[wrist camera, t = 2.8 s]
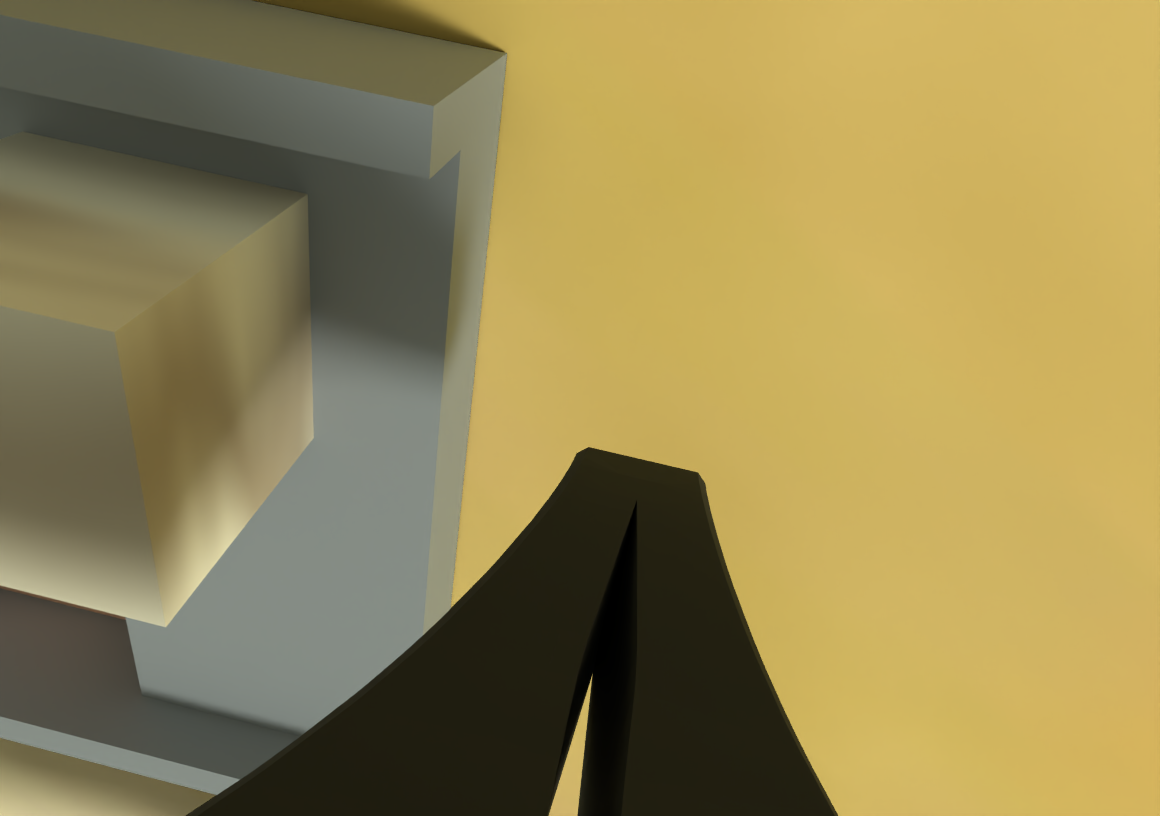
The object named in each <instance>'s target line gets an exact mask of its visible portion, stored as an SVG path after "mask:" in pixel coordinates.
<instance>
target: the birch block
mask: <svg viewBox="0 0 1160 816" xmlns="http://www.w3.org/2000/svg"><path fill="white" fill-rule="evenodd" d="M313 438H314V428H313V388H312V348H311V308H310V268H309V228H308V194H305V193H301V192H296V191H292V190H287V189H282V188H278V187H273V186H269V185H264V184H260V183H255V182H250V181H246V180H241V179H237V178H232V177H228V176H223V175H218V174H214V173H209V172H205V171H200V170H196V169H191V168H187V167H182V166H177V165H173V164H168V163H164V162H159V161H155V160H150V159H145V158H141V157H136V156H132V155H127V154H123V153H118V152H113V151H109V150H104V149H100V148H95V147H91V146H86V145H82V144H77V143H72V142H68V141H63V140H59V139H54V138H50V137H45V136H40V135H36V134H31V133H27V132H20V133H17V134H14V135H11V136H9V137H6V138H3V139H0V585H1V586H5V587H8V588H12V589H16V590H20V591H24V592H28V593H32V594H36V595H40V596H44V597H48V598H52V599H56V600H60V601H64V602H68V603H72V604H76V605H80V606H84V607H88V608H91V609H95V610H99V611H103V612H107V613H111V614H115V615H119V616H123V617H127V618H131V619H135V620H139V621H143V622H147V623H151V624H155V625H159V626H163V627H167V625H168V624H169V623H170V621H171V620H172V619H173V618H174V616H175V615H176V614H177V612H178V611H179V610H180V609H181V607H182V606H183V605H184V603H185V602H186V601H187V600H188V598H189V597H190V596H191V595H192V593H193V592H194V591H195V589H196V588H197V587H198V586H199V584H200V583H201V582H202V580H203V579H204V578H205V577H206V575H207V574H208V573H209V571H210V570H211V569H212V568H213V566H214V565H215V564H216V562H217V561H218V560H219V559H220V557H221V556H222V555H223V554H224V552H225V551H226V550H227V548H228V547H229V546H230V545H231V543H232V542H233V541H234V539H235V538H236V537H237V536H238V534H239V533H240V532H241V530H242V529H243V528H244V527H245V525H246V524H247V523H248V521H249V520H250V519H251V518H252V516H253V515H254V514H255V513H256V511H257V510H258V509H259V507H260V506H261V505H262V504H263V502H264V501H265V500H266V498H267V497H268V496H269V495H270V493H271V492H272V491H273V489H274V488H275V487H276V486H277V484H278V483H279V482H280V480H281V479H282V478H283V477H284V475H285V474H286V473H287V472H288V470H289V469H290V468H291V466H292V465H293V464H294V463H295V461H296V460H297V459H298V457H299V456H300V455H301V454H302V452H303V451H304V450H305V448H306V447H307V446H308V445H309V443H310V442H311V441H312V439H313Z"/></svg>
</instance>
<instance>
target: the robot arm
mask: <svg viewBox="0 0 1160 816" xmlns="http://www.w3.org/2000/svg"><path fill="white" fill-rule="evenodd" d="M592 674H593V676H592ZM591 677H592V685H591V694H590V703H589V712H588V722H587V731H586V740H585V750H584V759H583V769H582V778H581V788H580V797H579V807H578V816H838V814H837V812H836V811H835V809H834V807H833V805H832V803H831V801H830V799H829V798H828V796H827V794H826V792H825V790H824V788H823V786H822V785H821V783H820V781H819V779H818V777H817V775H816V773H815V772H814V770H813V768H812V766H811V764H810V762H809V760H808V758H807V756H806V754H805V752H804V750H803V748H802V746H801V744H800V742H799V740H798V738H797V736H796V734H795V732H794V730H793V728H792V726H791V724H790V721H789V719H788V717H787V715H786V713H785V711H784V709H783V707H782V704H781V702H780V700H779V698H778V695H777V693H776V691H775V689H774V686H773V684H772V682H771V680H770V678H769V675H768V673H767V671H766V669H765V666H764V664H763V661H762V659H761V657H760V654H759V652H758V649H757V647H756V645H755V642H754V640H753V637H752V635H751V632H750V629H749V627H748V624H747V621H746V619H745V616H744V613H743V611H742V608H741V605H740V603H739V600H738V597H737V595H736V592H735V589H734V587H733V584H732V581H731V578H730V575H729V572H728V569H727V566H726V563H725V560H724V556H723V553H722V550H721V547H720V543H719V540H718V537H717V533H716V530H715V526H714V522H713V518H712V514H711V511H710V506H709V502H708V497H707V492H706V486H705V483H704V481H703V480H702V478H701V476H700V475H699V473H698V472H693V471H689V470H685V469H680V468H676V467H672V466H667V465H663V464H659V463H655V462H650V461H646V460H642V459H637V458H633V457H629V456H624V455H620V454H616V453H611V452H607V451H603V450H599V449H594V448H590V447H588V448H586V449H584V450H582V451H580V452H578V453H577V454H576V456H575V458H574V460H573V462H572V464H571V466H570V468H569V469H568V471H567V472H566V474H565V476H564V477H563V479H562V480H561V482H560V483H559V485H558V486H557V488H556V489H555V491H554V492H553V493H552V495H551V496H550V498H549V499H548V500H547V501H546V503H545V504H544V505H543V507H542V508H541V509H540V511H539V512H538V513H537V514H536V516H535V517H534V518H533V520H532V521H531V522H530V523H529V524H528V526H527V527H526V528H525V529H524V530H523V531H522V532H521V534H520V535H519V536H518V537H517V538H516V539H515V541H514V542H513V543H512V544H511V545H510V546H509V548H508V549H507V550H506V551H505V552H504V553H503V555H502V556H501V557H500V558H499V559H498V560H497V562H496V563H495V564H494V565H493V566H492V567H491V568H490V569H489V570H488V571H487V572H486V573H485V574H484V575H483V576H482V577H481V578H480V579H479V580H478V581H477V582H476V583H475V584H474V585H473V587H472V588H471V589H470V590H469V591H468V592H467V593H466V594H465V595H464V596H463V597H462V598H461V599H460V600H459V601H458V602H457V603H456V604H455V605H454V606H453V607H452V608H451V609H450V610H449V611H448V612H447V613H446V614H445V615H444V616H443V617H442V618H441V619H440V620H439V621H438V622H437V623H436V624H434V625H433V626H432V627H431V628H430V629H429V630H428V631H427V632H426V633H425V634H424V635H423V636H422V637H420V638H419V639H418V640H417V641H416V642H415V643H414V644H413V645H412V646H411V647H409V648H408V649H407V650H406V651H405V652H404V653H403V654H402V655H400V656H399V657H398V658H397V659H396V660H395V661H394V662H392V663H391V664H390V665H389V666H388V667H386V668H385V669H384V670H383V671H382V672H381V673H379V674H378V675H377V676H376V677H375V678H374V679H372V680H371V681H370V682H369V683H368V684H366V685H365V686H364V687H363V688H362V689H360V690H359V691H358V692H357V693H355V694H354V695H353V696H352V697H350V698H349V699H348V700H346V701H345V702H344V703H343V704H341V705H340V706H339V707H337V708H336V709H335V710H334V711H332V712H331V713H330V714H328V715H327V716H326V717H325V718H323V719H322V720H321V721H319V722H318V723H317V724H316V725H314V726H313V727H312V728H310V729H309V730H308V731H307V732H305V733H304V734H303V735H301V736H300V737H299V738H298V739H296V740H295V741H293V742H292V743H291V744H289V745H288V746H287V747H285V748H284V749H283V750H281V751H280V752H278V753H277V754H276V755H274V756H273V757H272V758H270V759H269V760H267V761H266V762H265V763H263V764H262V765H260V766H259V767H258V768H256V769H255V770H253V771H252V772H251V773H249V774H248V775H246V776H245V777H243V778H242V779H240V780H239V781H237V782H236V783H234V784H233V785H231V786H230V787H228V788H227V789H225V790H224V791H222V792H221V793H219V794H218V795H216V796H215V797H213V798H212V799H210V800H209V801H207V802H206V803H204V804H203V805H201V806H200V807H198V808H197V809H195V810H194V811H192V812H191V813H189V814H188V815H186V816H548V815H549V812H550V809H551V806H552V802H553V799H554V796H555V793H556V790H557V786H558V783H559V780H560V777H561V774H562V770H563V767H564V764H565V761H566V757H567V754H568V751H569V748H570V745H571V741H572V738H573V735H574V732H575V728H576V725H577V722H578V719H579V716H580V712H581V709H582V706H583V703H584V699H585V696H586V693H587V690H588V687H589V683H590V680H591Z"/></svg>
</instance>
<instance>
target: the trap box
mask: <svg viewBox="0 0 1160 816" xmlns="http://www.w3.org/2000/svg"><path fill="white" fill-rule="evenodd" d="M506 59H507V53H504V52H499V51H495V50H490V49H485V48H480V47H475V46H470V45H465V44H461V43H456V42H451V41H446V40H441V39H436V38H431V37H427V36H422V35H417V34H412V33H407V32H402V31H397V30H393V29H388V28H383V27H378V26H373V25H368V24H363V23H359V22H354V21H349V20H344V19H339V18H334V17H329V16H325V15H320V14H315V13H310V12H305V11H300V10H295V9H291V8H286V7H281V6H276V5H271V4H266V3H261V2H257V1H252V0H0V139H3V138H6V137H9V136H11V135H14V134H17V133H20V132H27V133H31V134H36V135H40V136H45V137H50V138H54V139H59V140H63V141H68V142H72V143H77V144H82V145H86V146H91V147H95V148H100V149H104V150H109V151H113V152H118V153H123V154H127V155H132V156H136V157H141V158H145V159H150V160H155V161H159V162H164V163H168V164H173V165H177V166H182V167H187V168H191V169H196V170H200V171H205V172H209V173H214V174H218V175H223V176H228V177H232V178H237V179H241V180H246V181H250V182H255V183H260V184H264V185H269V186H273V187H278V188H282V189H287V190H292V191H296V192H301V193H305V194H308V228H309V268H310V308H311V348H312V388H313V428H314V438H313V439H312V441H311V442H310V443H309V445H308V446H307V447H306V448H305V450H304V451H303V452H302V454H301V455H300V456H299V457H298V459H297V460H296V461H295V463H294V464H293V465H292V466H291V468H290V469H289V470H288V472H287V473H286V474H285V475H284V477H283V478H282V479H281V480H280V482H279V483H278V484H277V486H276V487H275V488H274V489H273V491H272V492H271V493H270V495H269V496H268V497H267V498H266V500H265V501H264V502H263V504H262V505H261V506H260V507H259V509H258V510H257V511H256V513H255V514H254V515H253V516H252V518H251V519H250V520H249V521H248V523H247V524H246V525H245V527H244V528H243V529H242V530H241V532H240V533H239V534H238V536H237V537H236V538H235V539H234V541H233V542H232V543H231V545H230V546H229V547H228V548H227V550H226V551H225V552H224V554H223V555H222V556H221V557H220V559H219V560H218V561H217V562H216V564H215V565H214V566H213V568H212V569H211V570H210V571H209V573H208V574H207V575H206V577H205V578H204V579H203V580H202V582H201V583H200V584H199V586H198V587H197V588H196V589H195V591H194V592H193V593H192V595H191V596H190V597H189V598H188V600H187V601H186V602H185V603H184V605H183V606H182V607H181V609H180V610H179V611H178V612H177V614H176V615H175V616H174V618H173V619H172V620H171V621H170V623H169V624H168V625H167V627H163V626H159V625H155V624H151V623H147V622H143V621H139V620H135V619H131V618H127V617H123V616H119V615H115V614H111V613H107V612H103V611H99V610H95V609H91V608H88V607H84V606H80V605H76V604H72V603H68V602H64V601H60V600H56V599H52V598H48V597H44V596H40V595H36V594H32V593H28V592H24V591H20V590H16V589H12V588H8V587H5V586H1V585H0V738H3V739H6V740H10V741H14V742H18V743H22V744H25V745H29V746H33V747H37V748H41V749H44V750H48V751H52V752H56V753H59V754H63V755H67V756H71V757H75V758H78V759H82V760H86V761H90V762H93V763H97V764H101V765H105V766H109V767H112V768H116V769H120V770H124V771H128V772H131V773H135V774H139V775H143V776H146V777H150V778H154V779H158V780H162V781H165V782H169V783H173V784H177V785H180V786H184V787H188V788H192V789H196V790H199V791H203V792H207V793H211V794H215V795H218V794H219V793H221V792H222V791H224V790H225V789H227V788H228V787H230V786H231V785H233V784H234V783H236V782H237V781H239V780H240V779H242V778H243V777H245V776H246V775H248V774H249V773H251V772H252V771H253V770H255V769H256V768H258V767H259V766H260V765H262V764H263V763H265V762H266V761H267V760H269V759H270V758H272V757H273V756H274V755H276V754H277V753H278V752H280V751H281V750H283V749H284V748H285V747H287V746H288V745H289V744H291V743H292V742H293V741H295V740H296V739H298V738H299V737H300V736H301V735H303V734H304V733H305V732H307V731H308V730H309V729H310V728H312V727H313V726H314V725H316V724H317V723H318V722H319V721H321V720H322V719H323V718H325V717H326V716H327V715H328V714H330V713H331V712H332V711H334V710H335V709H336V708H337V707H339V706H340V705H341V704H343V703H344V702H345V701H346V700H348V699H349V698H350V697H352V696H353V695H354V694H355V693H357V692H358V691H359V690H360V689H362V688H363V687H364V686H365V685H366V684H368V683H369V682H370V681H371V680H372V679H374V678H375V677H376V676H377V675H378V674H379V673H381V672H382V671H383V670H384V669H385V668H386V667H388V666H389V665H390V664H391V663H392V662H394V661H395V660H396V659H397V658H398V657H399V656H400V655H402V654H403V653H404V652H405V651H406V650H407V649H408V648H409V647H411V646H412V645H413V644H414V643H415V642H416V641H417V640H418V639H419V638H420V637H422V636H423V635H424V634H425V633H426V632H427V631H428V630H429V629H430V628H431V627H432V626H433V625H434V624H436V623H437V622H438V621H439V620H440V619H441V618H442V617H443V616H444V615H445V614H446V613H447V612H448V611H449V610H450V608H451V598H452V588H453V578H454V569H455V559H456V549H457V539H458V529H459V520H460V510H461V500H462V490H463V480H464V471H465V461H466V451H467V441H468V432H469V422H470V412H471V402H472V392H473V383H474V373H475V363H476V353H477V343H478V334H479V324H480V314H481V304H482V294H483V285H484V275H485V265H486V255H487V245H488V236H489V226H490V216H491V206H492V197H493V187H494V177H495V167H496V157H497V148H498V138H499V128H500V118H501V108H502V99H503V89H504V79H505V69H506Z"/></svg>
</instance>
